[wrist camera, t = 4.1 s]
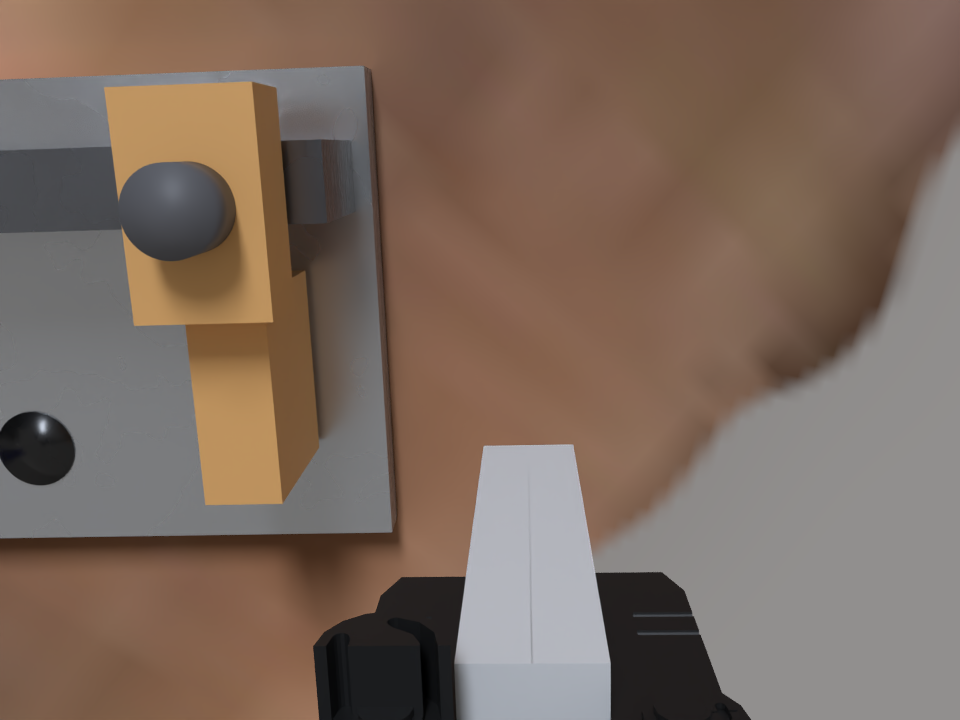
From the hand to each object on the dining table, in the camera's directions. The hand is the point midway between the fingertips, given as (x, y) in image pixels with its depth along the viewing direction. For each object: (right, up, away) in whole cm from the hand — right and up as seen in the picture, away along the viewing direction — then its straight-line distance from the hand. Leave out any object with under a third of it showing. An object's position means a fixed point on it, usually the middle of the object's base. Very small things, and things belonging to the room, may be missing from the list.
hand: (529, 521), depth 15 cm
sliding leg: (-7, +5, +11) cm, 14 cm away
